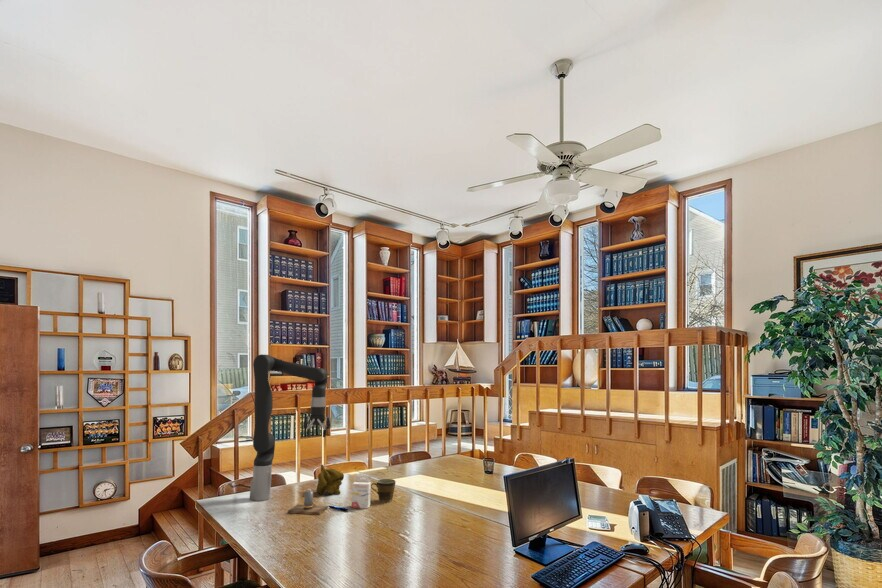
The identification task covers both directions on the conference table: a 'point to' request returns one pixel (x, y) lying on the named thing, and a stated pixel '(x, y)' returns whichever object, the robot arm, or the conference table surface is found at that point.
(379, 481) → the ceramic cup
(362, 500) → the ink cartridge box
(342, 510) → the conference table surface
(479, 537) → the conference table surface
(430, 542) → the conference table surface
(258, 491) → the robot arm
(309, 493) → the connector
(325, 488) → the gourd
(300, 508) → the walnut board
